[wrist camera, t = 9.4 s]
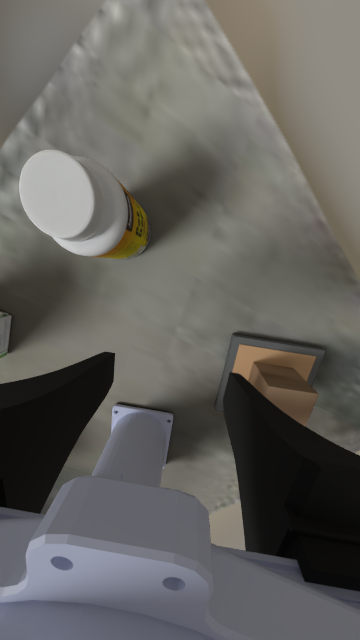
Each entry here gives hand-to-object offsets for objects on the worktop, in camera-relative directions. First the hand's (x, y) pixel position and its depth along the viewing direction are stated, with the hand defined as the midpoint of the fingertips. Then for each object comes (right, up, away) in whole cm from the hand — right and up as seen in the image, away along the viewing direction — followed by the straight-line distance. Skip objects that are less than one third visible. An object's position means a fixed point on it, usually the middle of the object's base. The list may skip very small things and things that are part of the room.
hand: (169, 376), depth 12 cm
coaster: (+11, -4, +11) cm, 16 cm away
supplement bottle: (-5, +13, +8) cm, 16 cm away
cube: (+11, -4, +10) cm, 15 cm away
